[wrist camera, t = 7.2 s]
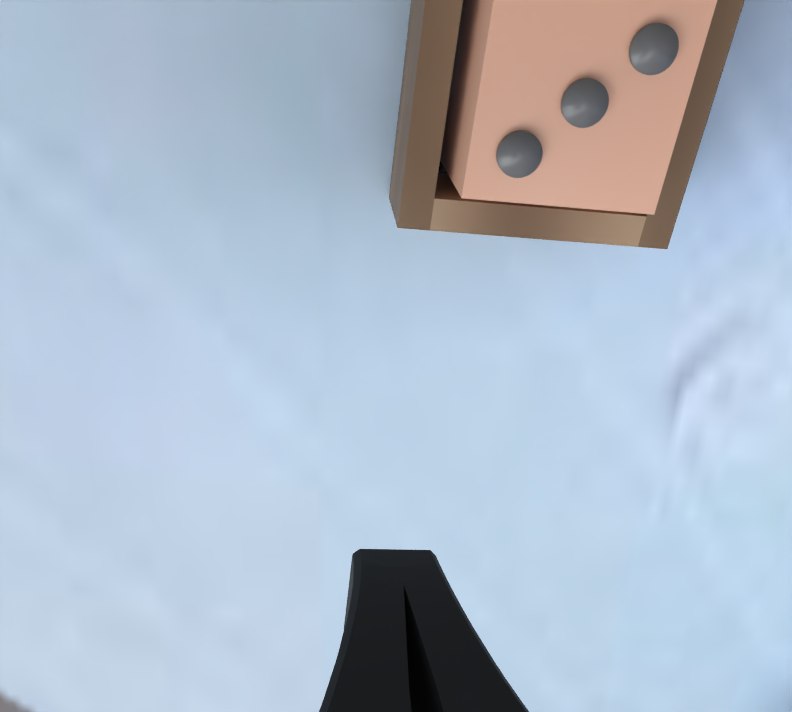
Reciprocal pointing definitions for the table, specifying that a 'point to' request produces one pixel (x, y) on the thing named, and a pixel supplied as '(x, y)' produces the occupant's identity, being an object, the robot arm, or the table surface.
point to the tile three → (571, 99)
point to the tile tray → (446, 211)
